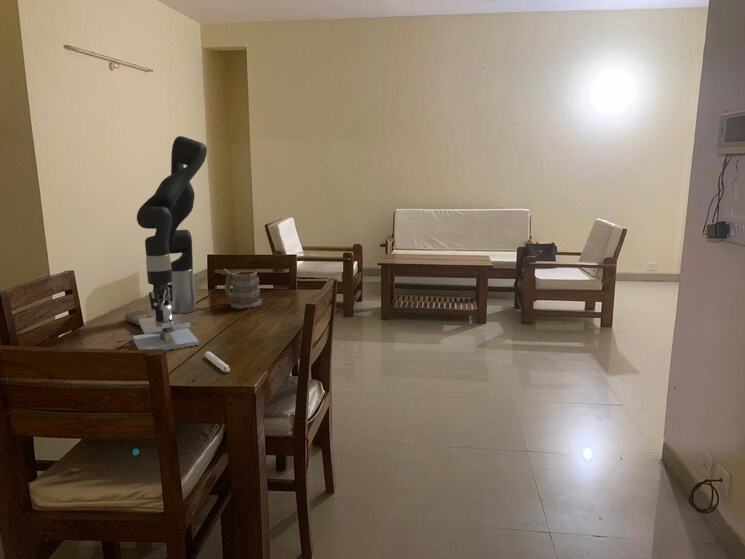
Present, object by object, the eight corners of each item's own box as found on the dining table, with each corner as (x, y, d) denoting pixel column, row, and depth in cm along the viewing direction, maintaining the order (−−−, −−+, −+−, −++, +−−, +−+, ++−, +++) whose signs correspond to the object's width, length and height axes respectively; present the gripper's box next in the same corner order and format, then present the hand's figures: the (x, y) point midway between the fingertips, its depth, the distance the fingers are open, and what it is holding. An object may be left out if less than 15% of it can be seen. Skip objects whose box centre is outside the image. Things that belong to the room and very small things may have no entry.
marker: (232, 373, 156) (232, 365, 155) (225, 375, 155) (224, 367, 154) (211, 357, 170) (210, 349, 170) (204, 358, 169) (204, 351, 169)
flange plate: (139, 323, 186) (137, 304, 185) (182, 317, 193) (180, 299, 191) (144, 333, 174) (142, 313, 173) (190, 327, 181) (188, 307, 179)
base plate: (133, 340, 188) (132, 327, 187) (188, 332, 196) (187, 319, 196) (140, 354, 172) (138, 341, 172) (199, 345, 181) (198, 332, 180)
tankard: (267, 303, 237) (266, 269, 234) (246, 310, 227) (244, 274, 224) (234, 298, 248) (232, 265, 245) (212, 304, 237) (210, 270, 234)
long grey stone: (143, 319, 220) (118, 325, 213) (141, 306, 219) (116, 312, 212) (187, 326, 196) (160, 333, 189) (185, 311, 195) (158, 318, 188)
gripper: (162, 272, 172) (166, 324, 176) (178, 264, 187) (182, 313, 190) (138, 272, 173) (143, 324, 176) (156, 264, 187) (160, 313, 190)
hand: (163, 318), depth 183 cm, fingers closed on flange plate, 5 cm apart
